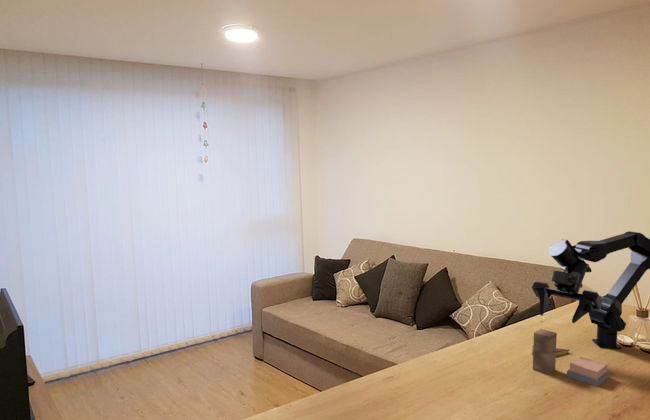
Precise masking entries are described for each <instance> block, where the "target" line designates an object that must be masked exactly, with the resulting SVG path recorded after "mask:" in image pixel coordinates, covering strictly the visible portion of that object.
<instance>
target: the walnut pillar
mask: <svg viewBox="0 0 650 420" xmlns="http://www.w3.org/2000/svg"><path fill="white" fill-rule="evenodd" d="M557 334H558V333H557V332H555V331H550V330H547V329H544V328H543V329H542V328H540V329H538V330H536V331H535V332H533V345H532V346H533V354H532V371H536V372H540V373H542V374H546V375H551V373H553V372H554V371H555V370H556V361H557V356H556V348H557Z"/></svg>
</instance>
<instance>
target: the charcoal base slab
mask: <svg viewBox="0 0 650 420" xmlns="http://www.w3.org/2000/svg"><path fill="white" fill-rule="evenodd" d="M609 376H610V371H608V370H607V372H606V373H605V374H604V375H602V376H601V377H600V378H599V379H597V380H596V379H593V378H590V377H586V376H583V375H580V374H577V373H574V372H571V371H570V368H569V369H568V370H567V371H566V378H569V379H573V380H576V381H578V382H582V383H586V384H588V385H590V386H595V387H600V386H601V385H602V384H603V383H604V382H605V381H607V379H609Z"/></svg>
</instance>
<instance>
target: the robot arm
mask: <svg viewBox="0 0 650 420" xmlns="http://www.w3.org/2000/svg"><path fill="white" fill-rule="evenodd" d="M624 249H629V250H630V251H631V252H630V262H629V263H628V265H627V266H626V268H625V269H624V271H623V272H622V273H621V274H620V275H619V277H618V278H617V280H616V281H615V283H614V284H613V285H612V286H611V288H610V289H609V291H608V292H607V293H606V294H605V295H603V296H602V295H599V293H598V292H597V291H591V290H588V289H587V290H585V289H584V290H583V291H582V293H579V292H580V289H581V288H583V285H584V284H583V281H584V278H585V275H586V273H592V272H593V271H592V268H591V267H590V264H589V263H587V262H592V263H598V262H600V261H602V260H605V259H606V257H607V255H609V254H611V253H614V252H618V251H621V250H624ZM547 251H548V254H549V256H550V257H551V258H552V259H554V261H555V262H556V263H557V264H558V265H559V266H560V267H563V268H564V267H565V268H564V270H563V271H561V270H560V271H558V270H553V273H552V276H551V282H554V287H555V288H551V287H550V286H549V283H547V282H543V281H542V282H541V281H535V282H533V283H532V285H531V289H532V291H533V292H534V294H535V297H536V298H538V299H539V315H540V316H541V317H542V316H543V315H544V314H545V312H546V310H547V307H548V306H549V304H550V299H551V296H555V297H561V298H565V299H570V300H574V301H578V305H577V307H576V309H575V312H574V314H573V316H572V319H571V323H572V324H575V323H576V322H578V321H579V320H580V319H581V318H582V317H584V316H586V315H587V314H588V316H589V320H590V323H591V324H594V325H596V338H592V342H594V344H596V345H597V346H598V348H601V349H602V348H603V349H622V346H621V345H620V344H619V343H618V332H622V331H624V330H625V329H626V326H627V323H626V322H625V320H624V319H623V318H622V317H621V316H622V314H623V308H622V305H623V303H624V301H625V300H627V298H628V296H629V295H630V294H631V292H632V291H633V290H634V288H635V287H636V285H637V284H638V283H639V281H640V280H641V278H642V277H643V276H644V274H645V273H646V272H647V271H648V270H650V238H649V237H647V236H646V235H645V234H643V233H642V232H637V231H626V232H624V233H621V234H616V235H614V236H611V237H607V238H604V239H601V240H581V241H578V242H577V243H576V244H575V245H572V243H570V240H568V239H564V238H562V239H561V240H560V241H557V242H555V243H554V244H552V245H550V247H549V248H548V250H547ZM586 261H587V262H586Z"/></svg>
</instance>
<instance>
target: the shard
mask: <svg viewBox="0 0 650 420" xmlns="http://www.w3.org/2000/svg"><path fill="white" fill-rule="evenodd" d="M531 348H532V349H531V355H533V345H532V347H531ZM570 351H571V349H567V348H566V349H565V348H560V347H559V348H557V347H556V357H558V356H562V355H566V354H568V353H569V352H570Z"/></svg>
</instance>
